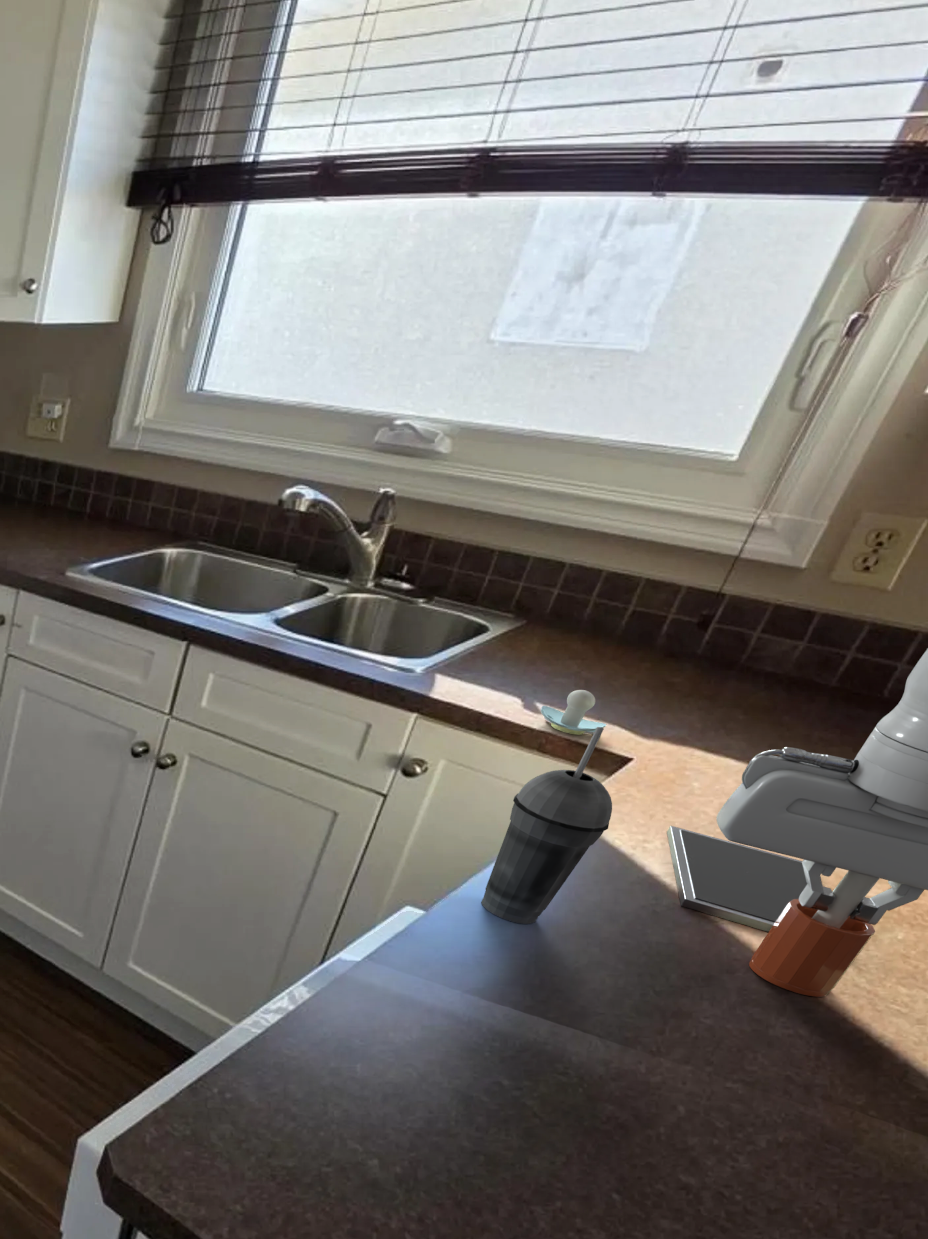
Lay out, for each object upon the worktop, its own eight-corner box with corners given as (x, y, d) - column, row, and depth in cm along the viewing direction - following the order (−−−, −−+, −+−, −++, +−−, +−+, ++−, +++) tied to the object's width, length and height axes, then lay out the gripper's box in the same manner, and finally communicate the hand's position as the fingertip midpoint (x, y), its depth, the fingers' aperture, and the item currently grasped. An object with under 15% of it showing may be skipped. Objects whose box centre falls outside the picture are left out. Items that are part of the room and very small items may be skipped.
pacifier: (543, 716, 149) (530, 723, 145) (563, 676, 146) (550, 683, 143) (606, 735, 143) (593, 743, 140) (627, 694, 141) (615, 701, 137)
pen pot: (823, 976, 95) (867, 915, 91) (834, 1005, 91) (881, 942, 88) (745, 951, 97) (785, 891, 94) (752, 979, 94) (794, 917, 90)
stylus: (810, 955, 94) (906, 833, 86) (814, 966, 93) (912, 844, 85) (783, 947, 95) (877, 827, 87) (787, 958, 94) (882, 837, 86)
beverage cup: (466, 914, 101) (556, 734, 92) (463, 881, 106) (548, 708, 97) (557, 941, 97) (661, 757, 88) (549, 906, 103) (647, 729, 94)
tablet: (809, 870, 112) (814, 863, 111) (844, 955, 98) (850, 947, 97) (666, 831, 118) (670, 824, 118) (680, 905, 104) (685, 897, 104)
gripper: (771, 753, 87) (689, 887, 93) (1135, 831, 77) (1016, 975, 83) (753, 729, 92) (677, 858, 98) (1095, 800, 82) (985, 938, 88)
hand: (835, 912), depth 91 cm, fingers closed on stylus, 2 cm apart
